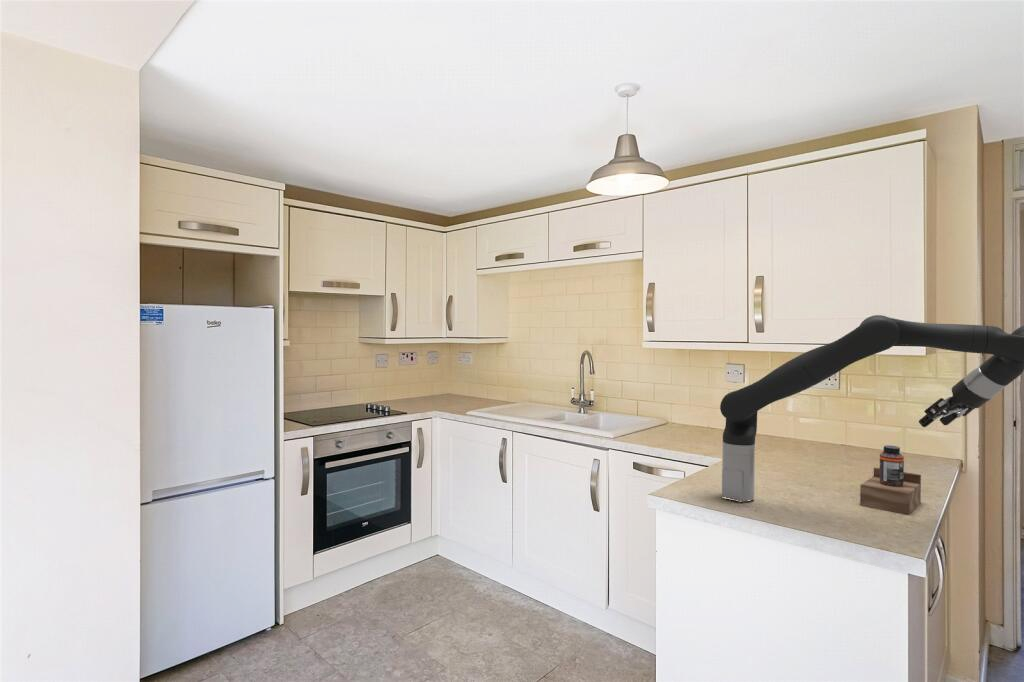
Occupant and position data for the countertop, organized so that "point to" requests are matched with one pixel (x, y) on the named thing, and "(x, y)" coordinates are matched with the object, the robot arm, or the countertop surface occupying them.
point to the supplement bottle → (891, 466)
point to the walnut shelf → (892, 493)
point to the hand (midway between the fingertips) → (932, 423)
